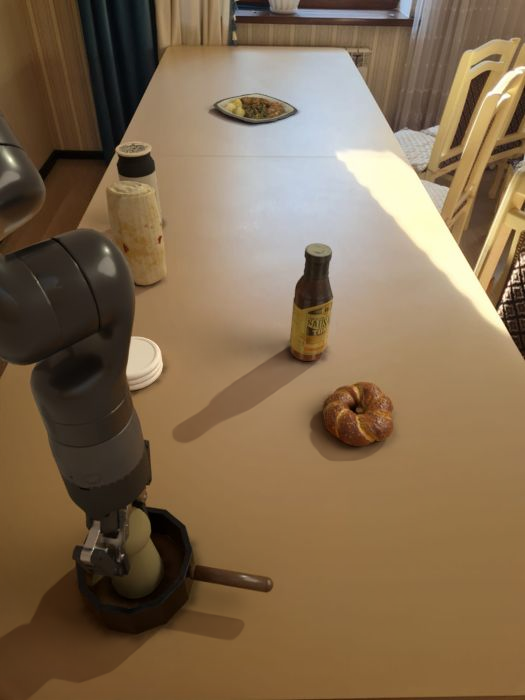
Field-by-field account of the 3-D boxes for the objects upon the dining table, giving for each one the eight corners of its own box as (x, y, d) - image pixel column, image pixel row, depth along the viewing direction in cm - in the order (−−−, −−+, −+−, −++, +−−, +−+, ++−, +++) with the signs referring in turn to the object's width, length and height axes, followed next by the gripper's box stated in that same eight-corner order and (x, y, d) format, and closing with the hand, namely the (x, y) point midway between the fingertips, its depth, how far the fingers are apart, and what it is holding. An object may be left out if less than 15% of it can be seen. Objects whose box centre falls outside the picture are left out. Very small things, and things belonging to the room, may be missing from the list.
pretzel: (333, 382, 87) (335, 366, 85) (400, 401, 84) (405, 384, 82) (311, 437, 79) (312, 420, 76) (385, 459, 76) (389, 442, 73)
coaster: (175, 365, 90) (173, 349, 88) (133, 401, 84) (129, 385, 82) (132, 342, 94) (128, 327, 92) (88, 375, 88) (83, 360, 86)
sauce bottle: (306, 368, 90) (315, 267, 76) (281, 349, 93) (286, 249, 80) (334, 352, 93) (347, 251, 80) (309, 333, 96) (317, 235, 83)
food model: (171, 270, 111) (159, 177, 98) (164, 289, 106) (150, 193, 93) (125, 268, 112) (107, 175, 99) (115, 286, 107) (95, 191, 94)
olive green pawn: (174, 564, 64) (164, 513, 56) (141, 609, 60) (125, 561, 52) (135, 539, 66) (120, 487, 58) (100, 581, 62) (80, 531, 55)
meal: (252, 130, 172) (252, 122, 170) (204, 108, 186) (203, 101, 184) (307, 112, 185) (308, 104, 183) (258, 93, 198) (258, 86, 196)
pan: (68, 621, 59) (56, 601, 56) (110, 521, 68) (103, 499, 65) (263, 658, 57) (263, 640, 53) (280, 549, 66) (281, 527, 62)
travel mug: (160, 233, 122) (149, 155, 110) (124, 233, 122) (110, 155, 110) (164, 216, 128) (154, 140, 116) (131, 216, 128) (117, 140, 116)
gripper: (92, 384, 53) (120, 484, 64) (19, 513, 42) (68, 605, 54) (166, 394, 52) (181, 494, 63) (110, 528, 41) (140, 619, 53)
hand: (129, 544), depth 58 cm, fingers closed on olive green pawn, 5 cm apart
